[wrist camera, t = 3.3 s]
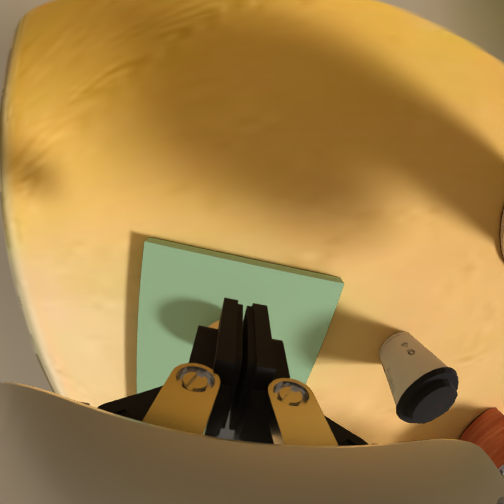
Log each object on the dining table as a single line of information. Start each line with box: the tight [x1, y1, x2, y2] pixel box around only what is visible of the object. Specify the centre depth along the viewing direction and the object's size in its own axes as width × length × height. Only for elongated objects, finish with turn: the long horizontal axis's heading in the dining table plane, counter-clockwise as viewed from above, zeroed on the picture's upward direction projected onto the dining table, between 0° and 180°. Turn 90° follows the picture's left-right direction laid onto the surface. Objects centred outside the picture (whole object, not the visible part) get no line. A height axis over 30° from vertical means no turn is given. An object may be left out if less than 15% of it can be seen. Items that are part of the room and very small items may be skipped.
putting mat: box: [137, 237, 344, 441], centre depth 30 cm, size 28×18×2 cm, turn 167°
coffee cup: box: [379, 332, 458, 424], centre depth 25 cm, size 7×7×10 cm
